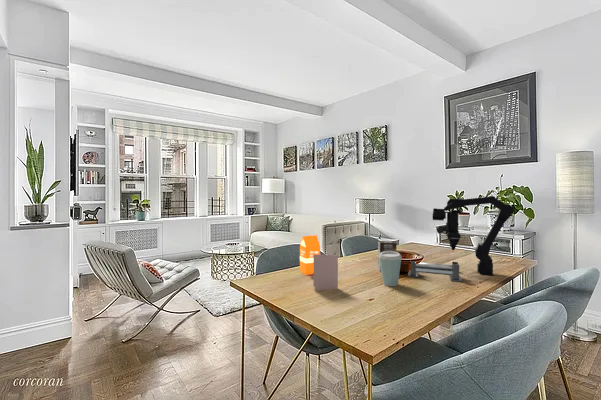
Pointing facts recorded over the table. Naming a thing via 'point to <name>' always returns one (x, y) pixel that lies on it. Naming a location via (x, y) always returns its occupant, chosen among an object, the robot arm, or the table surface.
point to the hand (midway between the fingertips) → (452, 248)
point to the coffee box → (385, 248)
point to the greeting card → (325, 272)
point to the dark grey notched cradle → (453, 277)
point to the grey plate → (434, 271)
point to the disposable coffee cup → (390, 267)
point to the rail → (434, 266)
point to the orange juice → (308, 253)
